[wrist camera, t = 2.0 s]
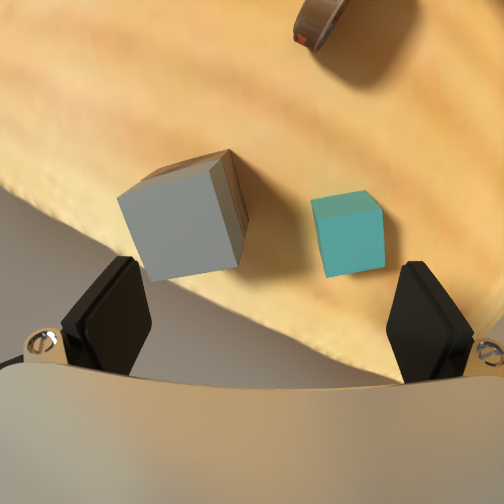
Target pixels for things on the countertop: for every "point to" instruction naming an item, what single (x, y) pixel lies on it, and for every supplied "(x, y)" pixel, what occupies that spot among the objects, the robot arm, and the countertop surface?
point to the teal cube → (349, 233)
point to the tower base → (230, 176)
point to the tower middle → (184, 222)
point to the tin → (317, 21)
